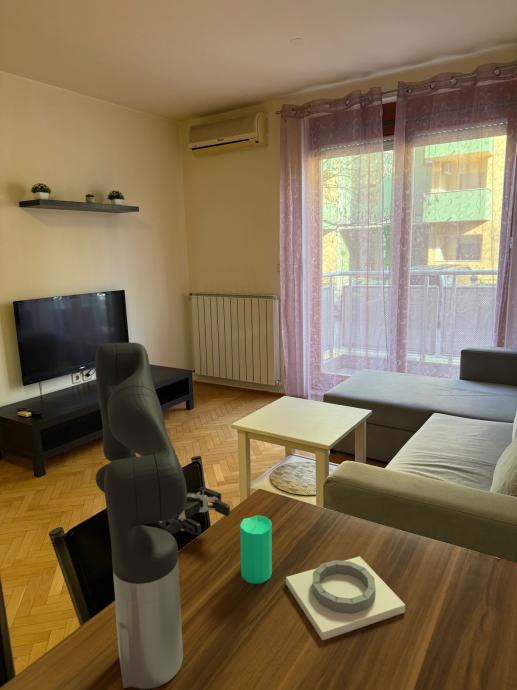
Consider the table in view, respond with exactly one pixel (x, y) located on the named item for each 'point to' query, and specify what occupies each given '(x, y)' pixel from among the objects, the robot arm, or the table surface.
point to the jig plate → (343, 596)
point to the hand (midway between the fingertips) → (214, 520)
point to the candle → (256, 549)
